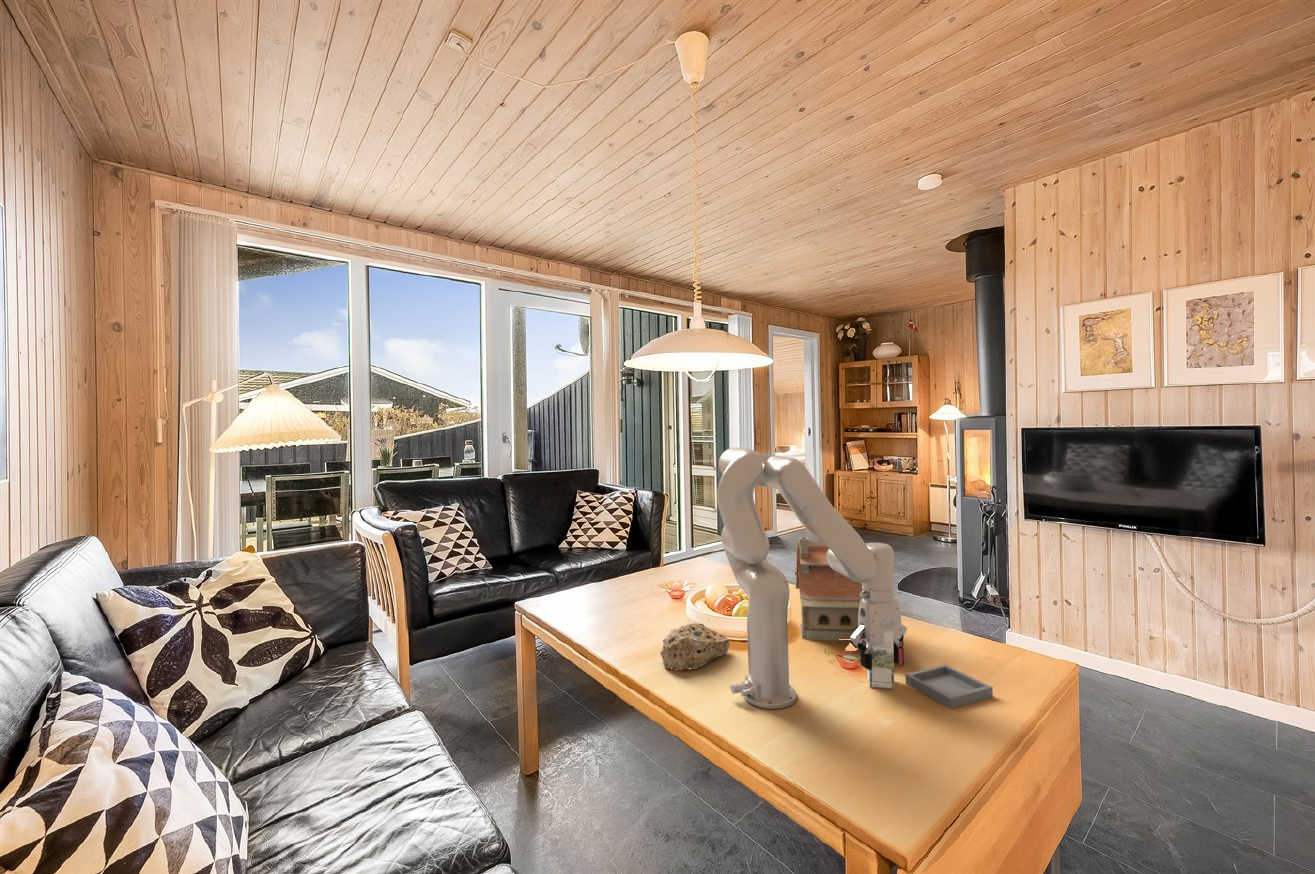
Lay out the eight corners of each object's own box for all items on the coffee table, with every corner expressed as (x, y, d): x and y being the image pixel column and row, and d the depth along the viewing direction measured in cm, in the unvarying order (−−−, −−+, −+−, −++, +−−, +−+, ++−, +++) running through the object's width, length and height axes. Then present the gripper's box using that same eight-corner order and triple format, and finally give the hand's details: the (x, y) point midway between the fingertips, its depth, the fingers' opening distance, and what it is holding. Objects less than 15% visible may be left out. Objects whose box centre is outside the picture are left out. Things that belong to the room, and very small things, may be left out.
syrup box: (891, 679, 136) (889, 622, 135) (894, 690, 130) (893, 631, 130) (866, 677, 137) (865, 620, 137) (869, 688, 132) (868, 629, 131)
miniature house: (886, 647, 155) (883, 543, 154) (800, 644, 158) (797, 543, 158) (871, 623, 173) (869, 530, 172) (794, 621, 176) (791, 530, 176)
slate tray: (950, 709, 121) (950, 698, 121) (905, 683, 133) (905, 674, 133) (992, 697, 125) (992, 686, 125) (945, 673, 138) (945, 664, 138)
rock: (693, 643, 165) (701, 612, 164) (731, 667, 155) (739, 635, 154) (647, 658, 150) (654, 625, 149) (685, 687, 140) (694, 651, 139)
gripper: (860, 603, 127) (862, 677, 127) (917, 593, 133) (919, 664, 133) (839, 594, 134) (841, 664, 134) (894, 585, 140) (896, 652, 140)
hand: (879, 664), depth 133 cm, fingers closed on syrup box, 7 cm apart
